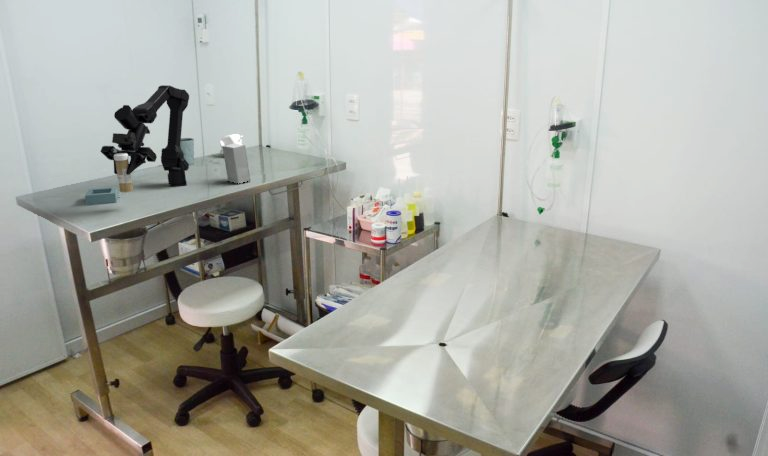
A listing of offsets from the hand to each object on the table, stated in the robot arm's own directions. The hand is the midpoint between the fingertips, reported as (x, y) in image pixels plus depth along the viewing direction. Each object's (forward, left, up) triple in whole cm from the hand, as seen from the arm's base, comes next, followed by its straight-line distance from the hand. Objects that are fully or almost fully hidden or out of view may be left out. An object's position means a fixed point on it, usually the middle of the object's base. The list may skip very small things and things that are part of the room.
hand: (121, 173), depth 194 cm
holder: (+9, -15, -13) cm, 22 cm away
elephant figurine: (-45, -78, -13) cm, 91 cm away
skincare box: (-42, -26, -13) cm, 51 cm away
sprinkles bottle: (-1, -1, -7) cm, 7 cm away
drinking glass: (-21, -70, -13) cm, 75 cm away
